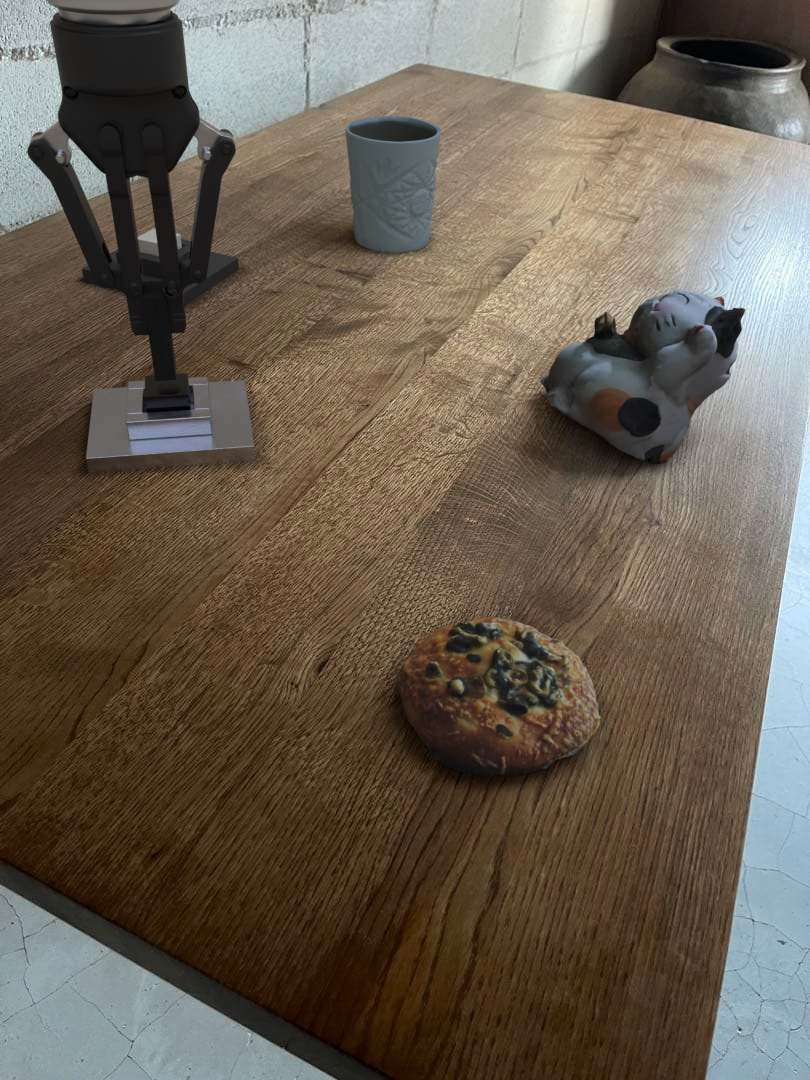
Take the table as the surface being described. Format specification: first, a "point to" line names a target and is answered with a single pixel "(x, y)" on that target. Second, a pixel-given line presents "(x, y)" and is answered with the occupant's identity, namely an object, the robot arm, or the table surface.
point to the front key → (167, 394)
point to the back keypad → (217, 266)
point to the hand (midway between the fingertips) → (165, 371)
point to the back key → (152, 242)
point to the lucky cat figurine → (647, 372)
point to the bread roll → (497, 697)
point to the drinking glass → (392, 181)
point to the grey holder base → (169, 428)
